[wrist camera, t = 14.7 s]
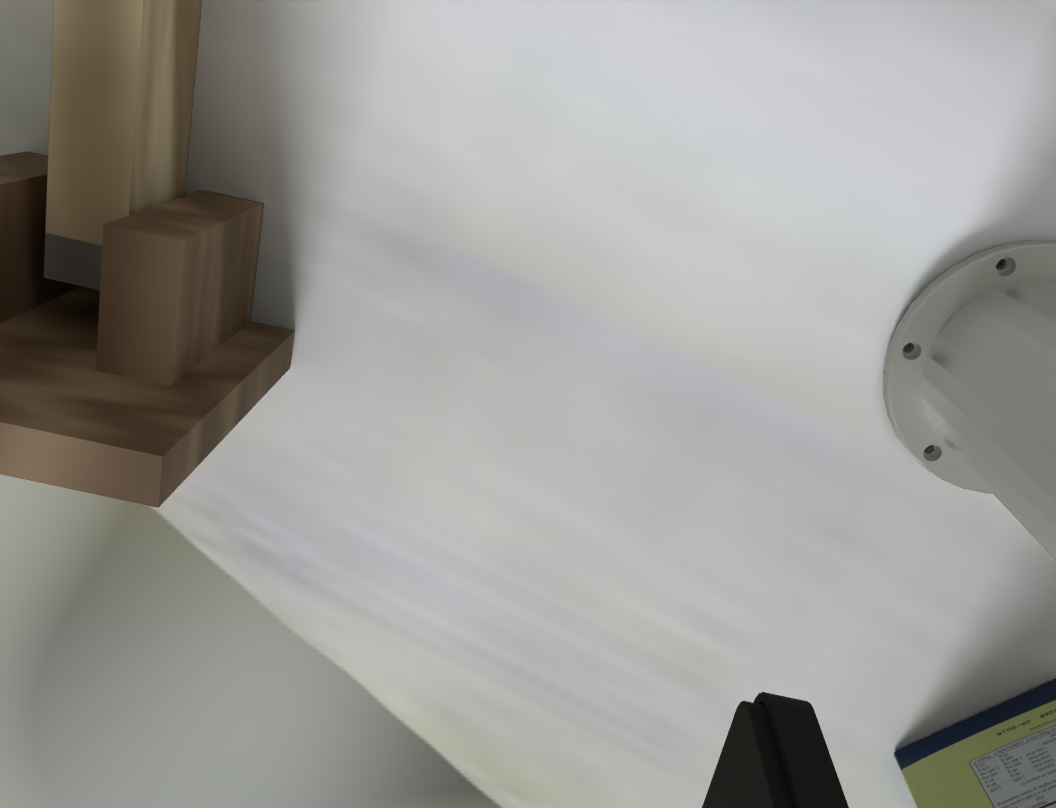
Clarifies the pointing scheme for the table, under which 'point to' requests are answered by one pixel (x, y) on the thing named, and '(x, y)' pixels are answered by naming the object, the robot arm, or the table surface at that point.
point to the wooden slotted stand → (129, 342)
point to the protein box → (989, 758)
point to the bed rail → (115, 121)
